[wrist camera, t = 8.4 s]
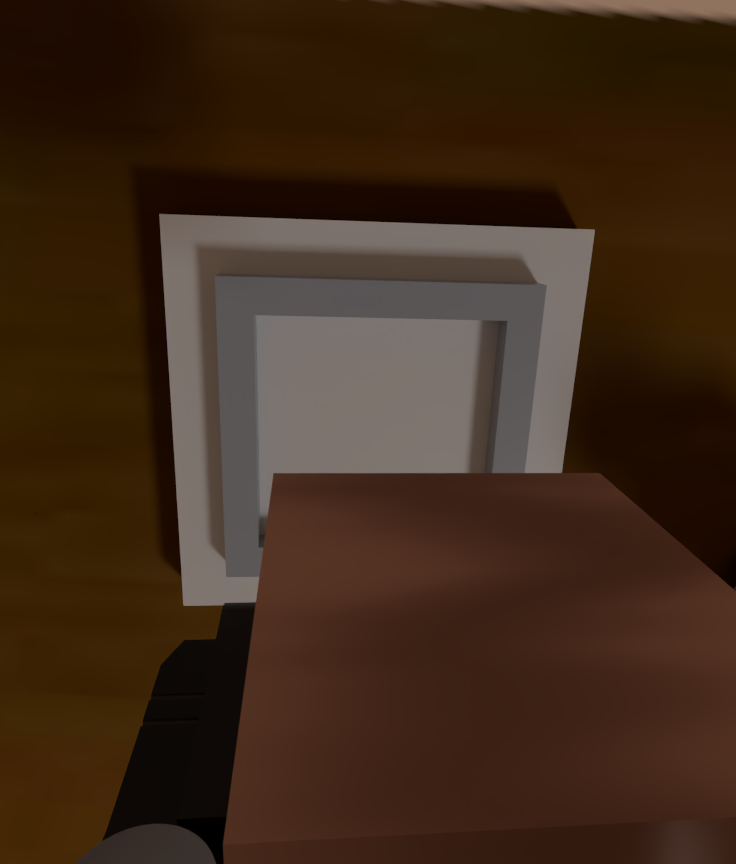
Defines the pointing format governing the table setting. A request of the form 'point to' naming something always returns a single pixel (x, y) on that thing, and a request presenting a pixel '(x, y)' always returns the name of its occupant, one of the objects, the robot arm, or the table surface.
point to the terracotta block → (482, 679)
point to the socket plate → (356, 363)
